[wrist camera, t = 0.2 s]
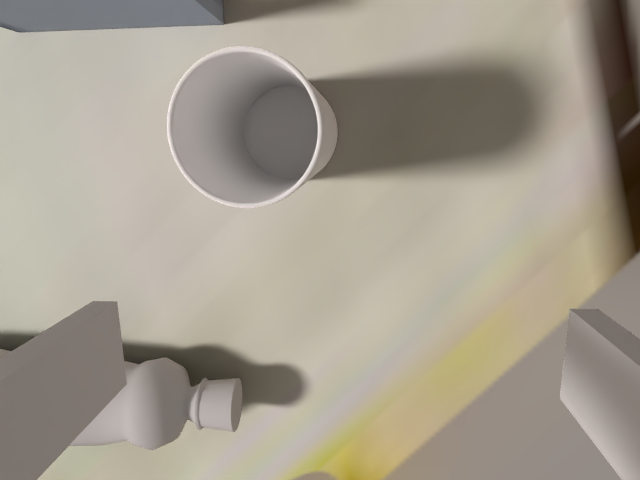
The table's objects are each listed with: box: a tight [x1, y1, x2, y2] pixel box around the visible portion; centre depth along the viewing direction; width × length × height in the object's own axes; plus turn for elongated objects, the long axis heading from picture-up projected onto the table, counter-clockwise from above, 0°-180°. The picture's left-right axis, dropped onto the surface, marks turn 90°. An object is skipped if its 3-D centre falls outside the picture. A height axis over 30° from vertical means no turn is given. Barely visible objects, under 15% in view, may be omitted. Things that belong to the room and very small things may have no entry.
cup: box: [167, 46, 338, 208], centre depth 31 cm, size 8×8×16 cm
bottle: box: [0, 349, 243, 450], centre depth 42 cm, size 9×9×30 cm
